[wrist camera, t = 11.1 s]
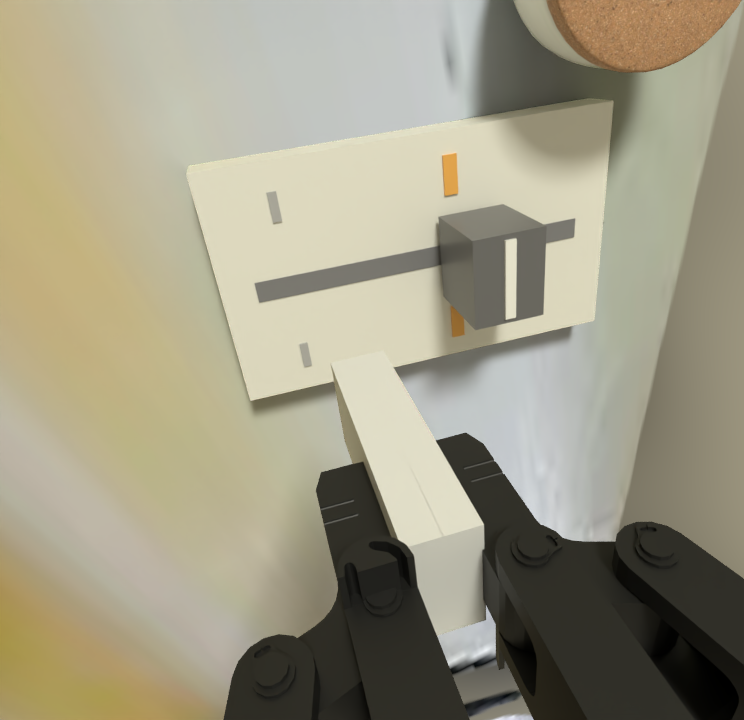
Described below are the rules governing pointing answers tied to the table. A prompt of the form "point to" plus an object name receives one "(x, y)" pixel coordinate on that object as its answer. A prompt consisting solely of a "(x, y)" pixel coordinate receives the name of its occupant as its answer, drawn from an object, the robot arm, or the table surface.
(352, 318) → the console
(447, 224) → the fader tab
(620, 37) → the lidded jar
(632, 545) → the robot arm
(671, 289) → the table surface
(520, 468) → the table surface
